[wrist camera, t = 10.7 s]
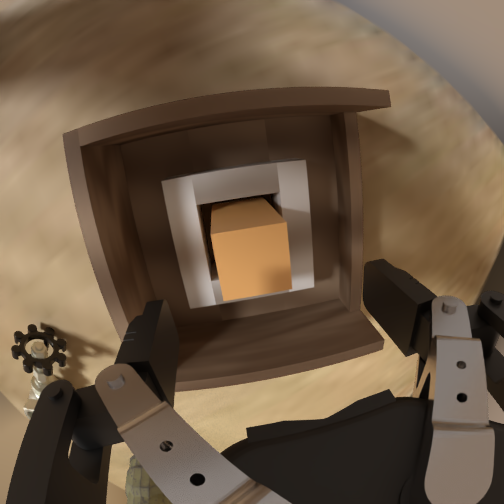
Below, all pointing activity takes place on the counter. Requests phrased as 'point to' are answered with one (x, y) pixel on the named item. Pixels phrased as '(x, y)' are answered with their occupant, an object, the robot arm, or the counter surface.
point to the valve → (38, 361)
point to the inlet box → (225, 188)
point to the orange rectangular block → (250, 248)
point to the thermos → (142, 486)
